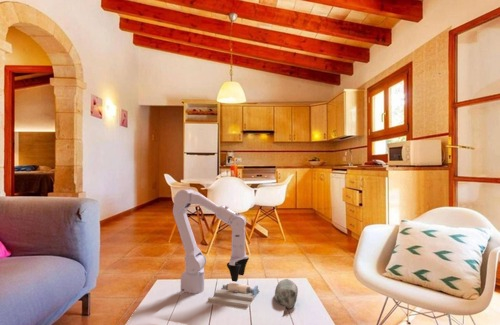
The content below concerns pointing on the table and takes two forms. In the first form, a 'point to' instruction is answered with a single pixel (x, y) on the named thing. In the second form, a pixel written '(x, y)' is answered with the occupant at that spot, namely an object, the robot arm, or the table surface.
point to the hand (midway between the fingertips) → (237, 277)
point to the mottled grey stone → (286, 293)
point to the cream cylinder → (238, 288)
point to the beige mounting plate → (233, 298)
